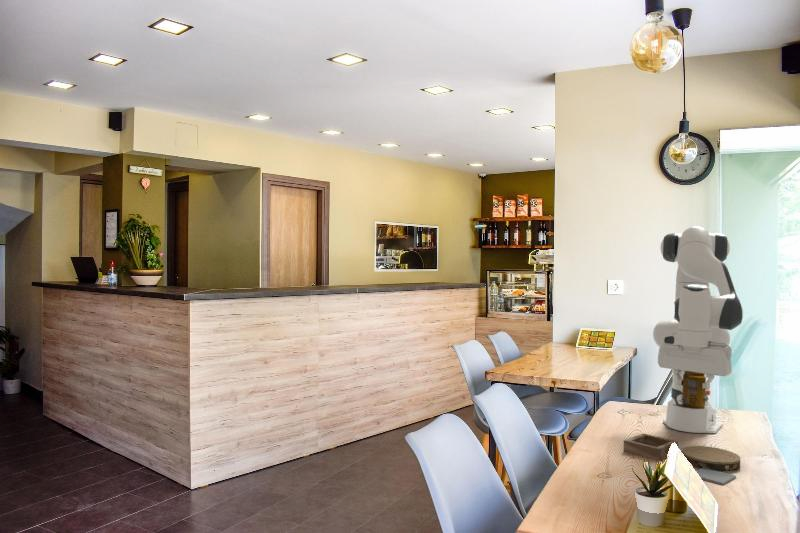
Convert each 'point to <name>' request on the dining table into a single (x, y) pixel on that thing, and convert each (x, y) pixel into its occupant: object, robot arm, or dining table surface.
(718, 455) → the round cork trivet
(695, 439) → the dining table surface
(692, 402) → the condiment
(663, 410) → the dining table surface
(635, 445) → the holder
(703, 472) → the coaster
